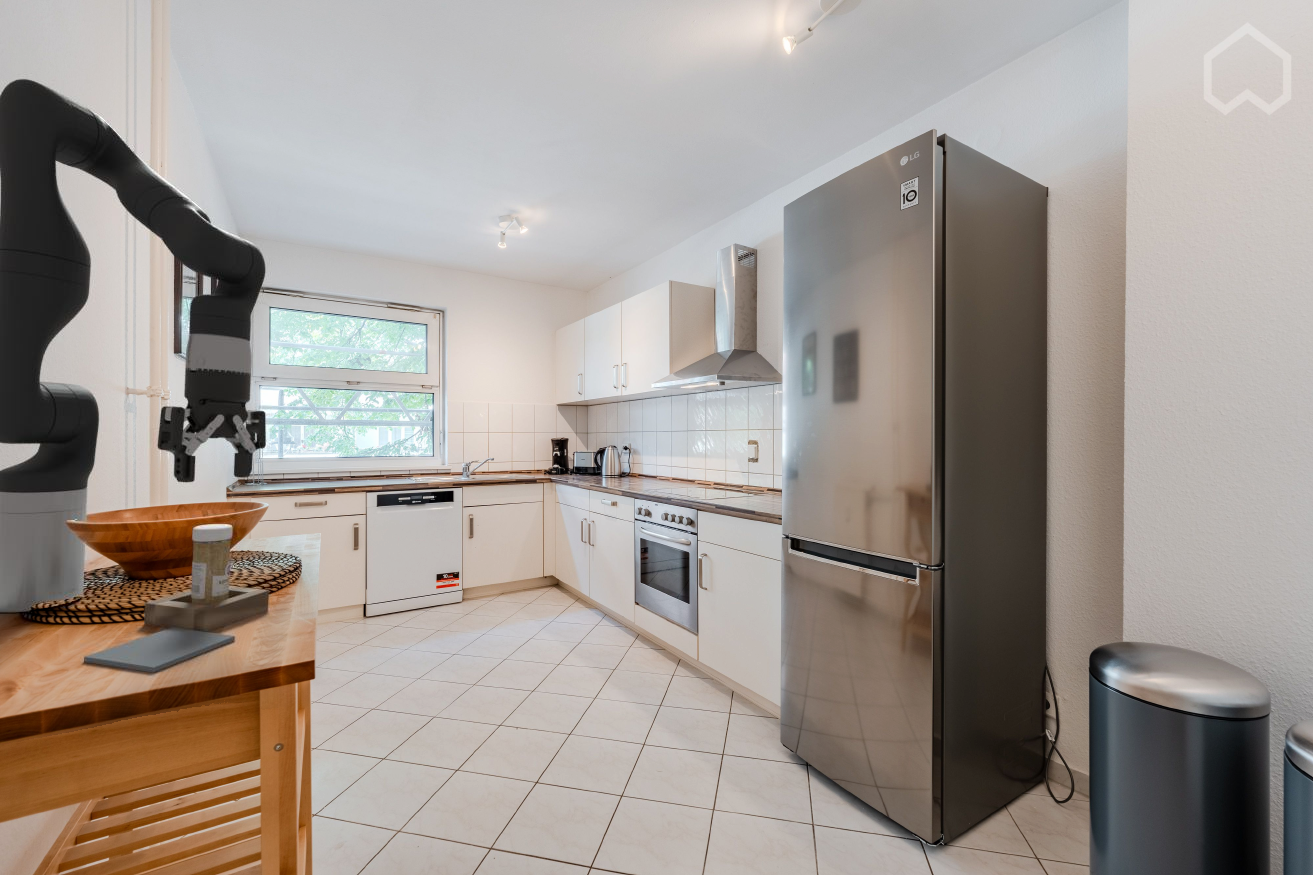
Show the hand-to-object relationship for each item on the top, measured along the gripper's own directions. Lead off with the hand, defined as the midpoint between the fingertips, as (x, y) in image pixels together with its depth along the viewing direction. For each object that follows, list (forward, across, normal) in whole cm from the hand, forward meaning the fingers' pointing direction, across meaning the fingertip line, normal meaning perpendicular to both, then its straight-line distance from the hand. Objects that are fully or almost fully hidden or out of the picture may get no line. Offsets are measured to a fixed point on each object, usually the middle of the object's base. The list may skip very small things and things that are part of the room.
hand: (214, 479), depth 80 cm
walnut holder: (+20, 0, 0) cm, 20 cm away
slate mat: (+20, +11, +6) cm, 24 cm away
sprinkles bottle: (+20, 0, 0) cm, 21 cm away
